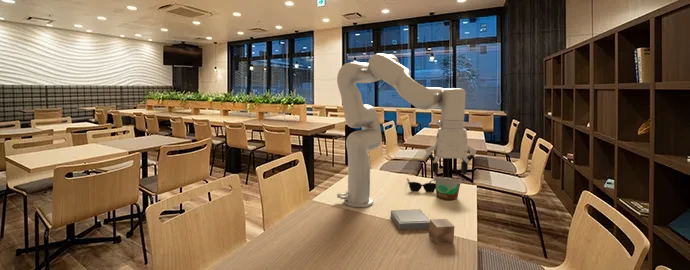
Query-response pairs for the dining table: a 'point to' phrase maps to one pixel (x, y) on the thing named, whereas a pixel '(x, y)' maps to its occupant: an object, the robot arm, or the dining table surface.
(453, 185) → the food container
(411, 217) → the tray
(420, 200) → the dining table surface
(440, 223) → the cube
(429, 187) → the sunglasses
